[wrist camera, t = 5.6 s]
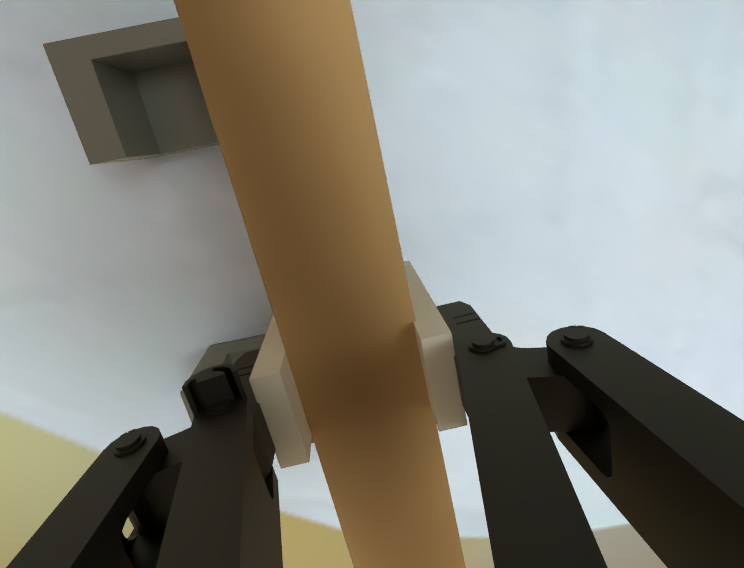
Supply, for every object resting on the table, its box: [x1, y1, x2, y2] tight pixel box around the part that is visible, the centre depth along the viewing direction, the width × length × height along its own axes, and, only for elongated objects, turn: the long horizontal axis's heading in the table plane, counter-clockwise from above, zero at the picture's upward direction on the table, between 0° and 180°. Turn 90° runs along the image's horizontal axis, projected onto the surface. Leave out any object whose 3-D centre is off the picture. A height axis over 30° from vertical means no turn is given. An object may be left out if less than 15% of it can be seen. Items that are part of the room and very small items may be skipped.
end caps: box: [43, 17, 314, 443], centre depth 28 cm, size 8×25×6 cm, turn 11°
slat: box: [174, 0, 466, 568], centre depth 15 cm, size 4×22×6 cm, turn 12°
